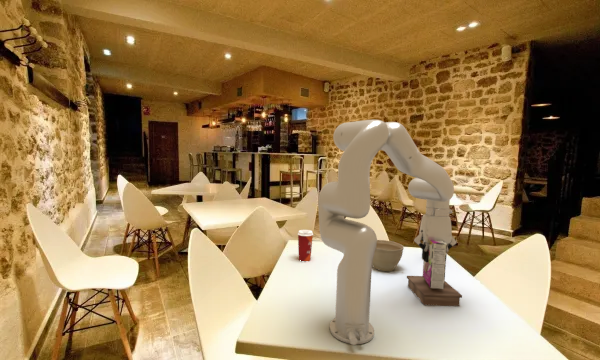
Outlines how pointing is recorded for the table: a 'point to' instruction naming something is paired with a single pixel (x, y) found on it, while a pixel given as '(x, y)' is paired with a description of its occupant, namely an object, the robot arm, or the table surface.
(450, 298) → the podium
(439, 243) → the candy bar box
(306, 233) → the paper cup
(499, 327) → the table surface
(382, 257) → the planter bowl
